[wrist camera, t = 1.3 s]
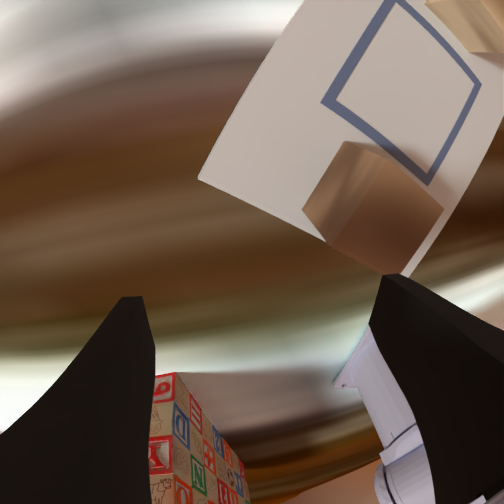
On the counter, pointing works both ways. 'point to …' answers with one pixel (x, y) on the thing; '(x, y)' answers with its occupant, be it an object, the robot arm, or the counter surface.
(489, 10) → the maple block
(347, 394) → the counter surface
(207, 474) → the stack of blocks
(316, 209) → the walnut block
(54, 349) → the counter surface
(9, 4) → the counter surface
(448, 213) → the board
